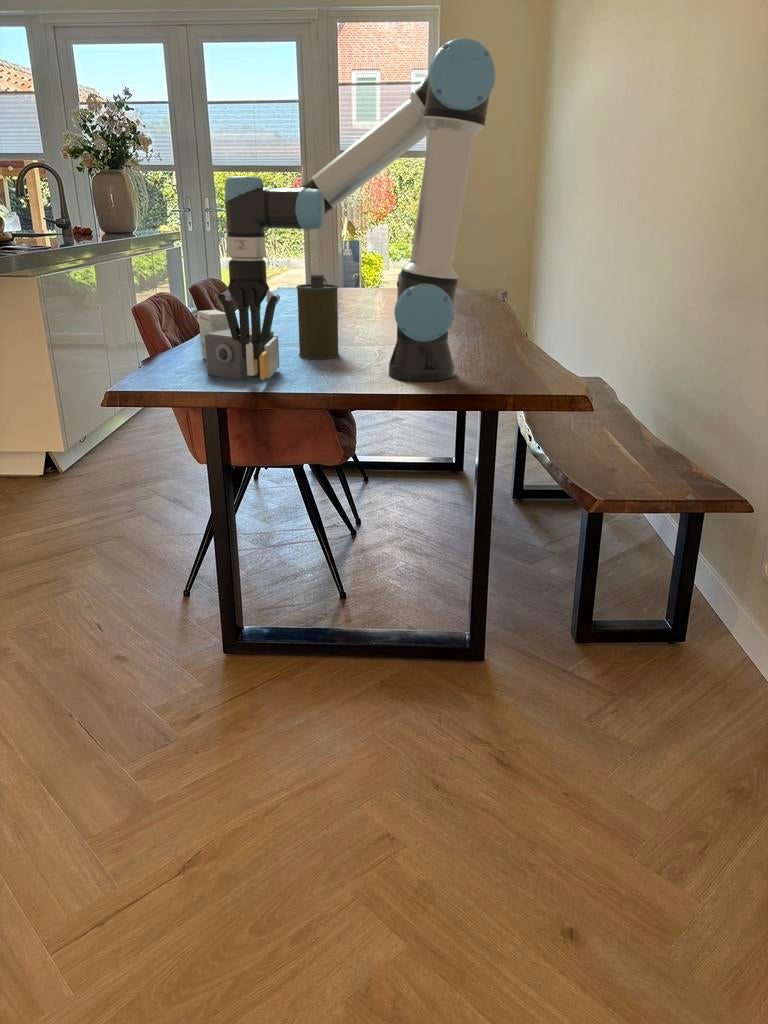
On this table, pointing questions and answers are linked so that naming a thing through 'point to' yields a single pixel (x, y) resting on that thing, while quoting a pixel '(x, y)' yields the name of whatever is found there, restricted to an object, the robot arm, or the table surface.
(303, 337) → the canister
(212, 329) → the ink box
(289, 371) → the table surface
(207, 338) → the camera body
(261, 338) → the robot arm
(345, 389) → the table surface
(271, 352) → the side door
